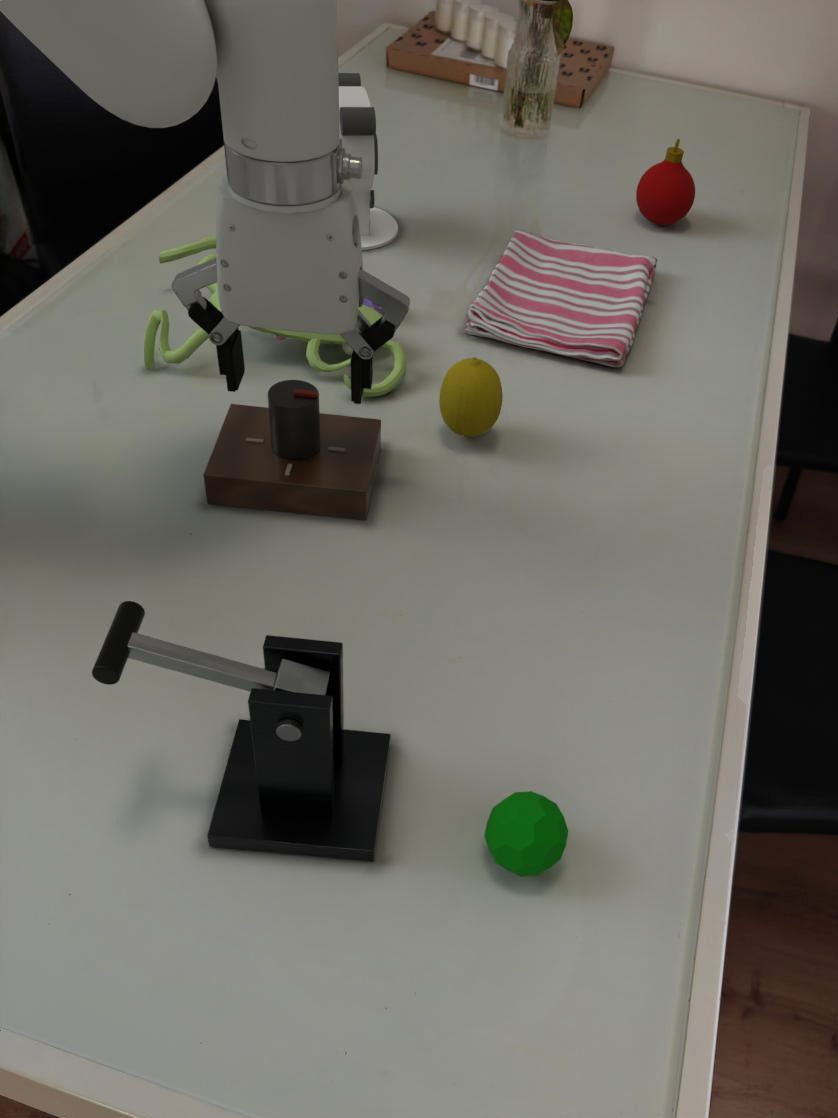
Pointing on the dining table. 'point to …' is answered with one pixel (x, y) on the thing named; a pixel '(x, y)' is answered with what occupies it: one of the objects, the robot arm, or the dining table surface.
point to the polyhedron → (526, 833)
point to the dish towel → (564, 299)
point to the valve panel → (294, 466)
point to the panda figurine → (363, 160)
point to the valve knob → (294, 419)
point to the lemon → (470, 397)
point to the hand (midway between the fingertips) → (297, 387)
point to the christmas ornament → (666, 189)
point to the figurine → (314, 339)
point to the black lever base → (301, 768)
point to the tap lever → (194, 660)
